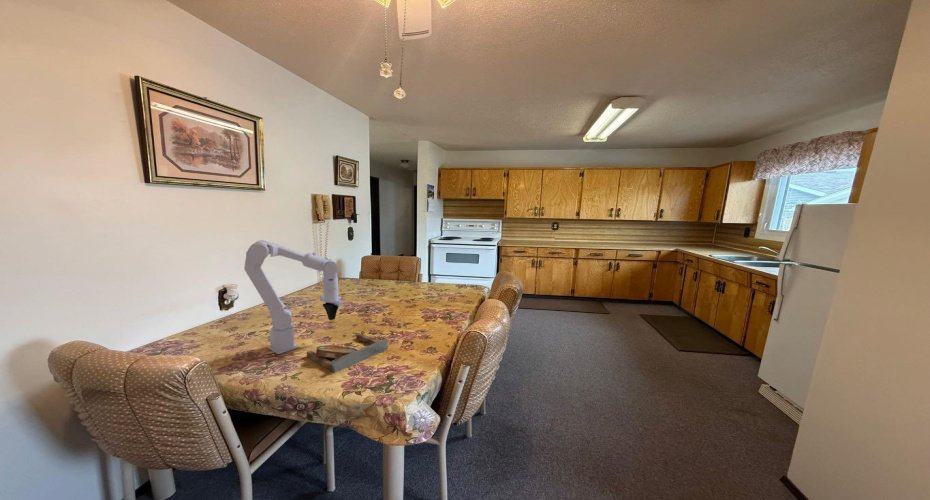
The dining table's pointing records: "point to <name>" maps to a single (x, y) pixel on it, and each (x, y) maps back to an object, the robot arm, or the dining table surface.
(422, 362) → the dining table surface
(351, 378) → the dining table surface
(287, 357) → the dining table surface
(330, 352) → the tin
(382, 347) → the grey u-shaped bracket
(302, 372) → the dining table surface
